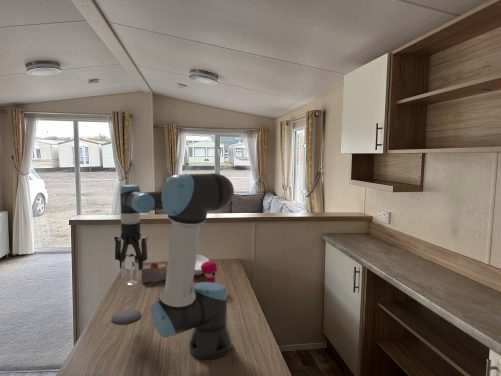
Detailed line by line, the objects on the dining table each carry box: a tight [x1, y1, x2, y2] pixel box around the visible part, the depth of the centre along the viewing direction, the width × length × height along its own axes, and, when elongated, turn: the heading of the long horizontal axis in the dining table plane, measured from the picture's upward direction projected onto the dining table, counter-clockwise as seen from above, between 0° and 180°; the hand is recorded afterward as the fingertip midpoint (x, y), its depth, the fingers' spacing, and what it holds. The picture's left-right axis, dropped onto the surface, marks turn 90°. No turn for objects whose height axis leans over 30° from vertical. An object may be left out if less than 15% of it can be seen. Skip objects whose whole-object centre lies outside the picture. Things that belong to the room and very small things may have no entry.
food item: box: [140, 262, 167, 284], centre depth 186 cm, size 14×8×10 cm, turn 111°
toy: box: [201, 260, 218, 283], centre depth 173 cm, size 8×8×15 cm
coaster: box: [111, 309, 142, 325], centre depth 143 cm, size 12×12×1 cm
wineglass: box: [124, 253, 138, 286], centre depth 140 cm, size 6×6×12 cm
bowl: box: [194, 254, 210, 276], centre depth 202 cm, size 30×15×6 cm, turn 13°
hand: (131, 276), depth 141 cm, fingers closed on wineglass, 6 cm apart
